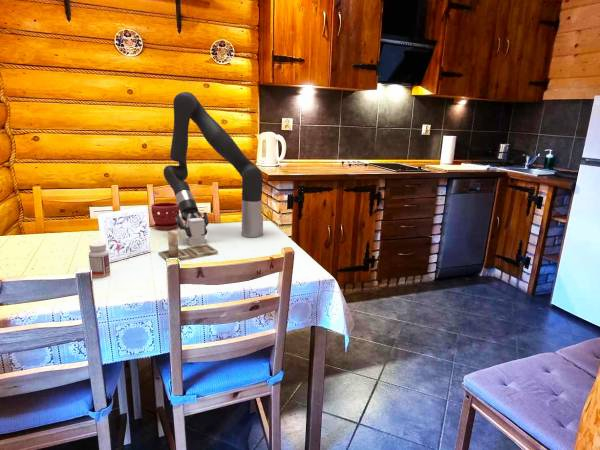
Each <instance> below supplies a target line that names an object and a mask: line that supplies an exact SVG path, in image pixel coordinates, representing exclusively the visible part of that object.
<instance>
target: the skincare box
mask: <svg viewBox="0 0 600 450" xmlns="http://www.w3.org/2000/svg"><path fill="white" fill-rule="evenodd" d="M188 222H189V227H188V228H190V231H191V234H192V236H191V237H190V238H189V236H187V239H188V240H187V241H188V243H187V244H189V246H196V245H202V244H206V243H205V241H206V239H205V238H206V237H205V236H206V235H205V231H204V219H203V218H202V217H200V218H193V219H188Z"/></svg>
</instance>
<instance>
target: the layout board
mask: <svg viewBox="0 0 600 450" xmlns="http://www.w3.org/2000/svg"><path fill="white" fill-rule="evenodd" d="M157 255H158V256H160V257H161V258H162V259H163V260H164V261H166V259H169V258H171V257H169V249H166V250H161V251H158V252H157ZM178 255H179V256H178V257H175V258H178V259H179V260H180V261H179V262H183V261H188V260H194V259H199V258H204V257H210V256H215V255H216V256H217V255H219V250H218V249H215V247H213V246H211V245H209V244H207V243H205V244H202V245H196V246H191V245H189V246H187V247H186V248H180V247H178Z"/></svg>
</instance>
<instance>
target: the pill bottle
mask: <svg viewBox="0 0 600 450" xmlns="http://www.w3.org/2000/svg"><path fill="white" fill-rule="evenodd" d="M88 246H89V253H88V261H89V262H88V263H89V268H90V267H91V270H92V276H91V277H93V278H95V279H97V278H104V277H108V276H109V275H110V274H111V267H110V265H111V264H110V256H109V255H110V254H109V250H108V249H107V243H106V242H104V241H95V242H91V243H89V244H88Z"/></svg>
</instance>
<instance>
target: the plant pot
mask: <svg viewBox="0 0 600 450" xmlns="http://www.w3.org/2000/svg"><path fill="white" fill-rule="evenodd" d="M150 207H151V216H152V220H153V222H154V224H153V226H154V228H155V229H157V230H161V231H163V230H164V231H166V230H167V231H171V230H174V229H176V228H179V226H178V224H177V222H176V220H175V218H176V216H177V215H179V216H180V210H179V207H178V205H177V202H170V201H169V202H166V201H165V202H156V203H152V204H151V205H150Z"/></svg>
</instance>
